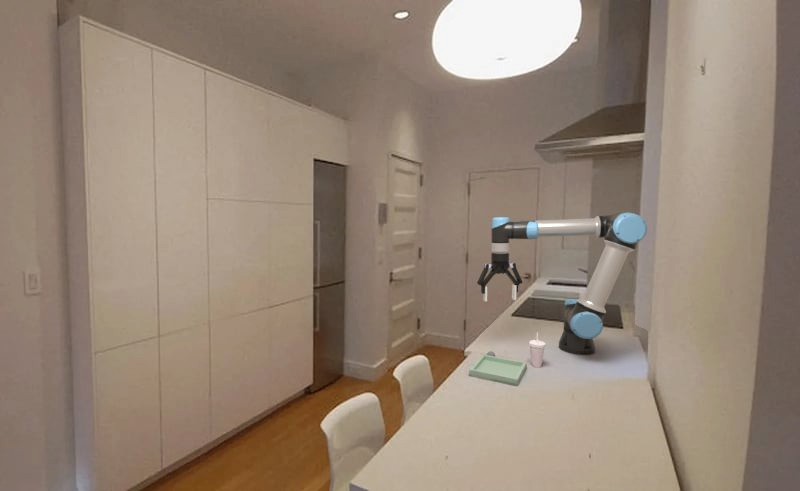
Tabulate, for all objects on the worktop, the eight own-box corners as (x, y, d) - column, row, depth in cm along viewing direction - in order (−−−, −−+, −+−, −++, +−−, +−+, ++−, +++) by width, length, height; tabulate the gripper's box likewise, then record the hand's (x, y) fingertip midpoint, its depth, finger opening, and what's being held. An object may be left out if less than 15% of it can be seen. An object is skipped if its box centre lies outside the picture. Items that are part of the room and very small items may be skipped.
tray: (526, 368, 155) (526, 362, 154) (517, 386, 139) (517, 379, 139) (482, 360, 163) (482, 354, 163) (469, 375, 147) (469, 369, 147)
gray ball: (496, 359, 164) (496, 351, 164) (493, 362, 161) (494, 353, 161) (487, 357, 166) (488, 349, 166) (485, 360, 163) (485, 352, 162)
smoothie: (526, 366, 156) (528, 333, 155) (529, 361, 162) (530, 328, 161) (543, 370, 153) (545, 335, 152) (545, 364, 159) (547, 331, 158)
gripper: (522, 250, 175) (521, 296, 176) (470, 252, 171) (469, 299, 172) (530, 252, 167) (530, 300, 169) (476, 254, 163) (475, 303, 165)
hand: (499, 300), depth 171 cm, fingers open, 13 cm apart
